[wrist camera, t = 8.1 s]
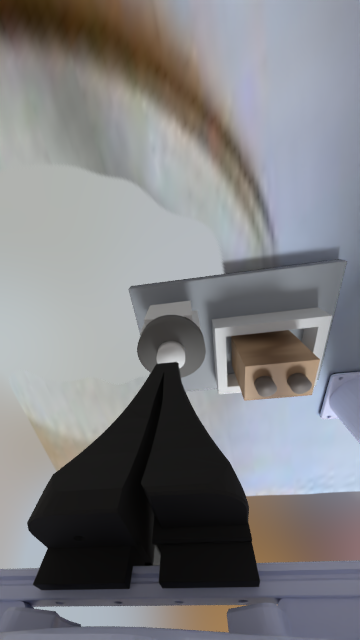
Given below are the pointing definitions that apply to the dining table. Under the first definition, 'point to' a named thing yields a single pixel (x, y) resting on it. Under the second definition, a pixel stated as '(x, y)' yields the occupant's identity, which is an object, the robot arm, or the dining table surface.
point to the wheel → (172, 337)
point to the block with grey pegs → (273, 365)
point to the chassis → (250, 311)
